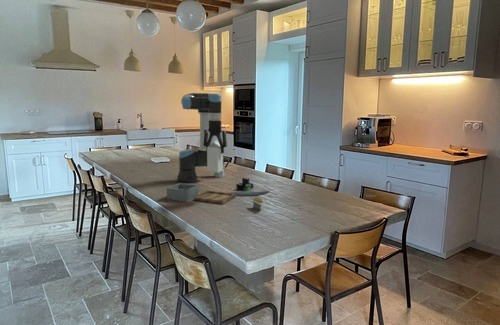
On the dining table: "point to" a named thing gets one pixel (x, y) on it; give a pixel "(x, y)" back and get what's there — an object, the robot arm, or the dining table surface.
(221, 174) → the coffee maker
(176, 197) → the bin
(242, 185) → the mineral sample
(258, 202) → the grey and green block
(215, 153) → the milk carton
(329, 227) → the dining table surface
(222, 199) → the tray
